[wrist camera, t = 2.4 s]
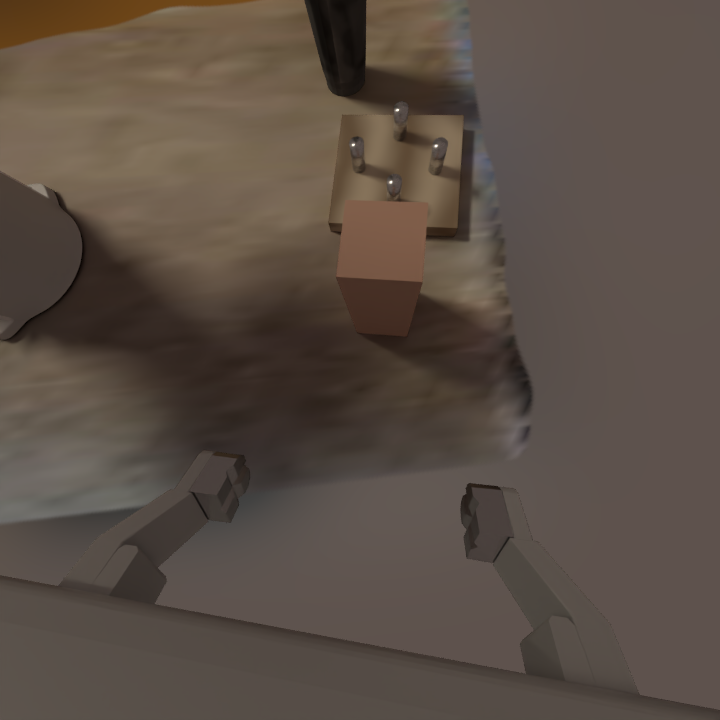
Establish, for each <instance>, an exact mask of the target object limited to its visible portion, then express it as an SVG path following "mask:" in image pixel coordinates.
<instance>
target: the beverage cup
mask: <svg viewBox="0 0 720 720" xmlns="http://www.w3.org/2000/svg"><path fill="white" fill-rule="evenodd" d="M305 4H306V8H307V12H308V16H309V19H310V23H311V27H312V31H313V35H314V38H315V42H316V46H317V50H318V54H319V57H320V61H321V65H322V69H323V72H324V74H325V77H326V80H327V85H328V88H329V89H330V91H331V92H332V93H334V94H336V95H339V96H349V95H352V94H354V93H356V92H357V91H359V90H360V89H361V87H362V86H363V84H364V81H365V61H366V0H305Z"/></svg>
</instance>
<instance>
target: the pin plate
mask: <svg viewBox="0 0 720 720" xmlns="http://www.w3.org/2000/svg"><path fill="white" fill-rule="evenodd" d="M463 119H464V115H408V104H407V103H406V102H403V101H401V102H398V103H396V104H395V106H394V115H342V120H341V128H340V136H339V144H338V151H337V159H336V167H335V175H334V183H333V190H332V198H331V206H330V214H329V221H328V223H329V227H330V230H331V231H335V232H342V224H343V215H344V207H345V200H363V201H394V202H425V203H428V214H427V228H426V235H428V236H451V237H454V236H455V233H456V230H457V227H458V209H459V191H460V173H461V155H462V137H463Z"/></svg>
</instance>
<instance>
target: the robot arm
mask: <svg viewBox="0 0 720 720" xmlns="http://www.w3.org/2000/svg"><path fill="white" fill-rule="evenodd" d="M81 257H82V239H81V234H80V231H79V229H78V227H77V225H76V223H75V221H74V220H73V219H72V218H71V217H70V216H69V215H68V214H67V213H66V212H65V211H64V210H63V209H62V208H61V207H60V206H59V203H58V200H57V197H56V195H55V193H54V191H53V190H52V189H50V188H48V187H46V186H45V185H43V184H40V183H37V184H31V185H25V184H23V183H21V182H19V181H17V180H16V179H14V178H12V177H10V176H8V175H7V174H5V173H3V172H1V171H0V339H2V340H6V339H9V338H10V337H12V336H13V335H14V334H15V333H16V332H17V331H18V330H19V329H20V328H21V327H22V326H23V325H24V324H25V322H26V321H28V320H29V319H31V318H32V317H34V316H36V315H38V314H39V313H41V312H43V311H45V310H46V309H48V308H49V307H51V306H52V305H53V304H54V303H55V302H57V301H58V300H59V299H60V298H61V297H62V296H63V294H64V293H65V292H66V291H67V289H68V288H69V287H70V285H71V283H72V282H73V280H74V278H75V276H76V274H77V271H78V269H79V266H80V262H81ZM245 462H246V460H245V457H244V455H237V454H230V453H222V452H216V451H207V450H203V451H202V452H201V453H199V454H198V456H197V457H196V459H195V460H194V462H193V463H192V465H191V466H190V467H189V469H188V470H187V472H186V473H185V475H184V476H183V478H182V479H181V480H180V482H179V483H178V485H177V486H176V488H175V489H174V490H169V491H167V492H166V493H164V494H163V495H161V496H160V497H158V498H157V499H155V500H154V501H152V502H151V503H149V504H148V505H146V506H144V507H143V508H141V509H140V510H138V511H137V512H135V513H134V514H132V515H131V516H129V517H128V518H126V519H125V520H123V521H122V522H120V523H119V524H117V525H116V526H114V527H113V528H111V529H110V530H108V531H107V532H105V533H104V534H102V535H101V536H99V537H98V538H96V539H95V541H94V542H93V543H92V544H91V546H90V547H89V548H88V549H87V551H86V552H85V553H84V554H83V556H82V557H81V558H80V560H79V561H78V562H77V563H76V565H75V566H74V567H73V568H72V569H71V571H70V572H69V573H68V574H67V576H66V577H65V578H64V579H63V581H62V582H61V583H60V584H59V586H55V585H49V584H44V583H39V582H34V581H28V580H23V579H18V578H12V577H7V576H2V575H0V720H720V710H716V709H711V708H705V707H700V706H695V705H689V704H684V703H678V702H673V701H668V700H662V699H657V698H652V697H647V696H642V695H639V692H638V690H637V687H636V685H635V682H634V680H633V678H632V675H631V673H630V671H629V668H628V666H627V664H626V661H625V658H624V656H623V654H622V651H621V649H620V647H619V644H618V642H617V639H616V637H615V634H614V632H613V630H612V627H611V625H610V624H609V622H608V621H607V620H606V619H605V617H604V616H603V615H602V614H601V613H600V612H599V611H598V610H597V608H596V607H595V606H594V605H593V604H592V603H591V602H590V600H589V599H588V598H587V597H586V596H585V595H584V594H583V593H582V591H581V590H580V589H579V588H578V587H577V586H576V584H575V583H574V582H573V581H572V580H571V579H570V578H569V576H568V575H567V574H566V573H565V572H564V571H563V570H562V569H561V567H560V566H559V565H558V564H557V563H556V562H555V561H554V559H553V558H552V557H551V556H550V555H549V554H548V553H547V551H545V549H544V548H543V547H542V546H541V545H540V544H539V542H537V541H533V539H532V536H531V533H530V530H529V526H528V523H527V520H526V517H525V514H524V511H523V508H522V504H521V501H520V498H519V495H518V492H517V491H516V489H513V488H505V487H498V486H491V485H482V484H472V483H469V484H467V487H466V494H465V495H464V496H463V498H462V501H461V520H462V524H463V526H464V527H465V528H466V529H467V531H466V533H465V535H464V543H465V550H466V557H467V559H473V560H478V561H484V562H490V563H494V564H493V566H494V567H495V569H496V570H497V572H498V573H499V575H500V577H501V578H502V580H503V581H504V583H505V584H506V586H507V587H508V589H509V591H510V592H511V594H512V595H513V597H514V599H515V600H516V602H517V603H518V605H519V607H520V608H521V610H522V611H523V613H524V614H525V616H526V618H527V619H528V621H529V622H530V624H531V625H532V627H533V628H534V631H533V632H531V633H530V634H529V635H528V636H527V637H526V638H524V639H523V640H522V642H521V643H520V647H521V652H522V656H523V661H524V666H525V671H526V674H523V673H519V672H513V671H508V670H503V669H498V668H492V667H487V666H481V665H476V664H471V663H466V662H460V661H455V660H449V659H444V658H439V657H434V656H428V655H423V654H418V653H412V652H407V651H402V650H396V649H391V648H385V647H380V646H375V645H370V644H364V643H359V642H354V641H348V640H343V639H337V638H332V637H327V636H321V635H316V634H311V633H306V632H300V631H295V630H290V629H284V628H279V627H274V626H268V625H263V624H257V623H252V622H247V621H241V620H236V619H231V618H226V617H220V616H215V615H210V614H204V613H199V612H194V611H188V610H183V609H178V608H172V607H167V606H161V605H156V604H155V602H156V600H157V598H158V596H159V595H160V593H161V591H162V589H163V587H164V585H165V584H166V576H165V575H164V574H163V573H162V572H161V571H160V570H159V569H158V567H159V566H160V565H161V564H162V563H163V562H164V561H166V560H167V559H168V558H169V557H170V556H171V555H172V554H173V553H174V552H175V551H176V550H178V549H179V548H180V547H181V546H182V545H183V544H184V543H185V542H186V541H188V540H189V539H190V538H191V537H192V536H193V535H194V534H195V533H196V532H197V531H198V530H199V529H201V528H202V527H203V526H204V525H205V524H206V523H207V522H208V520H212V521H221V522H229V523H230V522H231V521H232V519H233V516H234V514H235V512H236V510H237V508H238V506H239V501H238V498H239V497H240V496H242V495H243V494H244V493H245V491H246V489H247V487H248V484H249V480H250V471H249V468H248V467H247V466H245V465H244V464H245Z"/></svg>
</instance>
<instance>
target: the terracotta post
mask: <svg viewBox="0 0 720 720" xmlns="http://www.w3.org/2000/svg"><path fill="white" fill-rule="evenodd" d="M427 214H428V203H425V202H394V201H363V200H345V207H344V215H343V224H342V232H341V240H340V249H339V257H338V265H337V273H336V278H337V281H338V283H339V286H340V289H341V291H342V294H343V296H344V299H345V302H346V304H347V307H348V310H349V312H350V315H351V318H352V320H353V323H354V326H355V328H356V331H357V333H365V334H378V335H391V336H404V337H407V335H408V332H409V328H410V325H411V321H412V318H413V314H414V310H415V307H416V303H417V300H418V296H419V293H420V289H421V286H422V282H423V269H424V256H425V242H426V228H427Z"/></svg>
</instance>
